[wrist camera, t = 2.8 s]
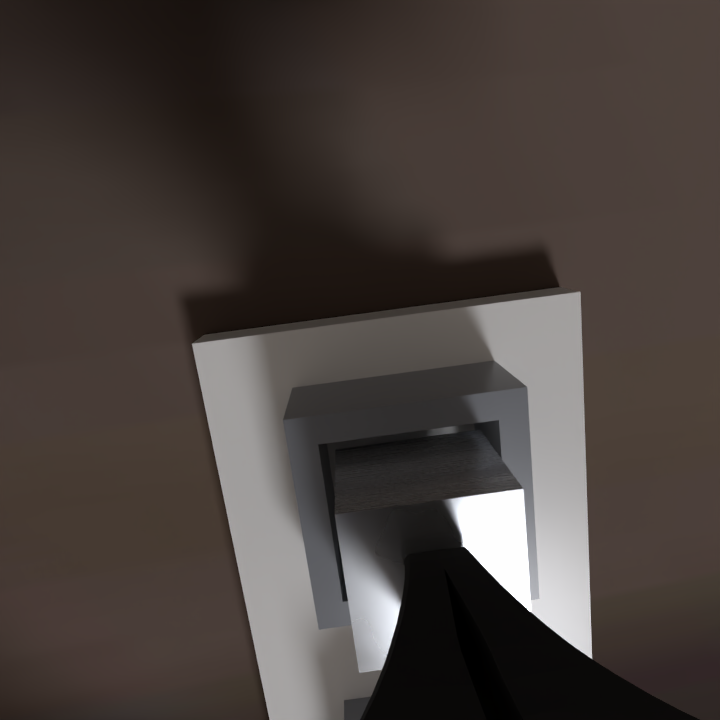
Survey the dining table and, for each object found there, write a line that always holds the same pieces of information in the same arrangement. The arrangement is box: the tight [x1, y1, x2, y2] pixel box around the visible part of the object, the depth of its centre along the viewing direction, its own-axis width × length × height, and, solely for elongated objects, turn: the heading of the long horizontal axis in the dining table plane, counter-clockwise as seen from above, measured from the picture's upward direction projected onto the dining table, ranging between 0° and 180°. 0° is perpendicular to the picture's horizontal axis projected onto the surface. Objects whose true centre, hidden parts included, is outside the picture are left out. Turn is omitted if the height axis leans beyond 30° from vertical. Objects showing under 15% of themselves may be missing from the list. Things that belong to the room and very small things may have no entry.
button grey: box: [335, 430, 531, 673], centre depth 13 cm, size 4×4×4 cm
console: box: [192, 287, 592, 720], centre depth 18 cm, size 22×12×4 cm, turn 7°
